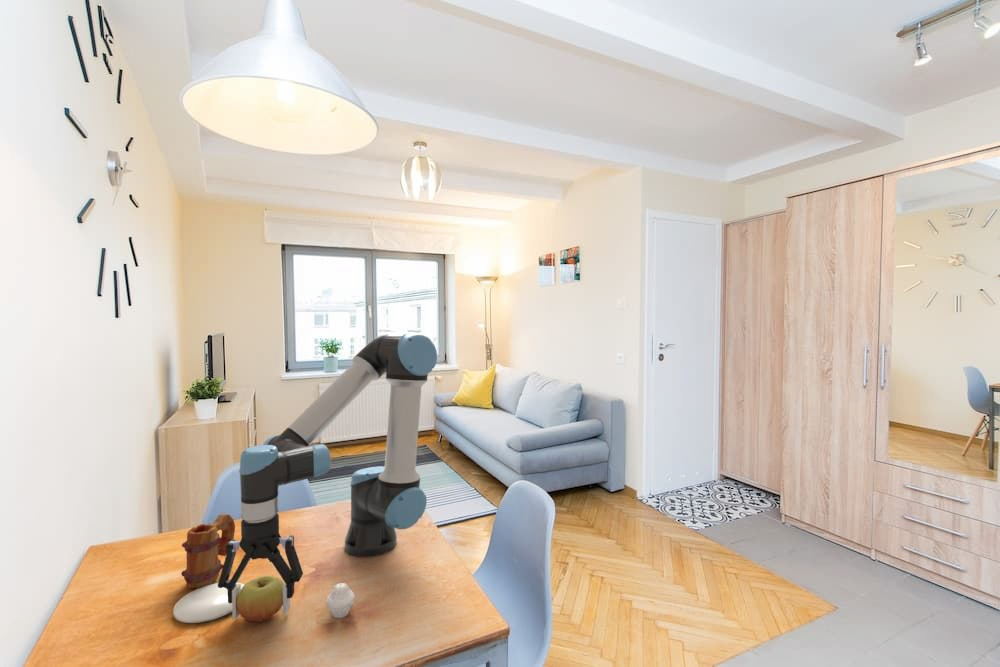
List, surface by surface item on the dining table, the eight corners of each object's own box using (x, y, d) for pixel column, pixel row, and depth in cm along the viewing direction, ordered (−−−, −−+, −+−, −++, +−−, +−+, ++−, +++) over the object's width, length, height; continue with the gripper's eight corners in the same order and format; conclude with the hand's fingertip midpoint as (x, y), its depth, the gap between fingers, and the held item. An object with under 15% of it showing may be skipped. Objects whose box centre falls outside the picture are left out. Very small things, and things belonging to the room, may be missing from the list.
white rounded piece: (332, 605, 109) (332, 576, 109) (358, 606, 109) (358, 576, 108) (321, 622, 102) (321, 591, 102) (348, 623, 102) (349, 592, 102)
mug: (200, 595, 112) (200, 534, 112) (172, 591, 114) (172, 531, 113) (245, 565, 126) (245, 511, 126) (219, 561, 128) (219, 508, 128)
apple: (234, 633, 97) (233, 596, 97) (239, 607, 106) (238, 573, 106) (285, 621, 101) (284, 586, 101) (286, 597, 110) (285, 564, 110)
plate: (258, 585, 117) (258, 579, 117) (232, 622, 102) (232, 616, 102) (194, 589, 115) (194, 583, 115) (158, 628, 100) (158, 622, 100)
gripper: (316, 506, 108) (318, 599, 109) (214, 512, 105) (216, 607, 106) (308, 520, 101) (309, 619, 101) (197, 526, 98) (199, 629, 98)
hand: (261, 613), depth 104 cm, fingers closed on apple, 10 cm apart
